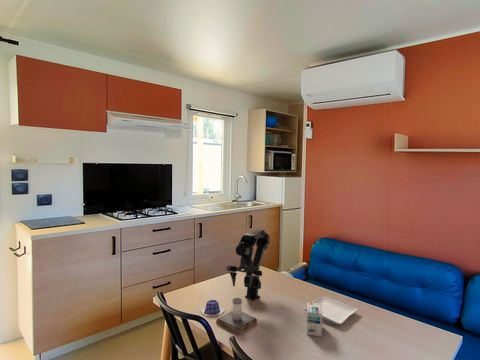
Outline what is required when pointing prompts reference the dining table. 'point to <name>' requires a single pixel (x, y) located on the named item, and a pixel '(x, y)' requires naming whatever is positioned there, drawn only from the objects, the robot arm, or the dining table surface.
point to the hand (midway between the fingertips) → (241, 287)
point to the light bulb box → (314, 319)
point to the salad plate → (334, 310)
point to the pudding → (212, 308)
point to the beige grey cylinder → (237, 309)
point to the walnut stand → (236, 322)
